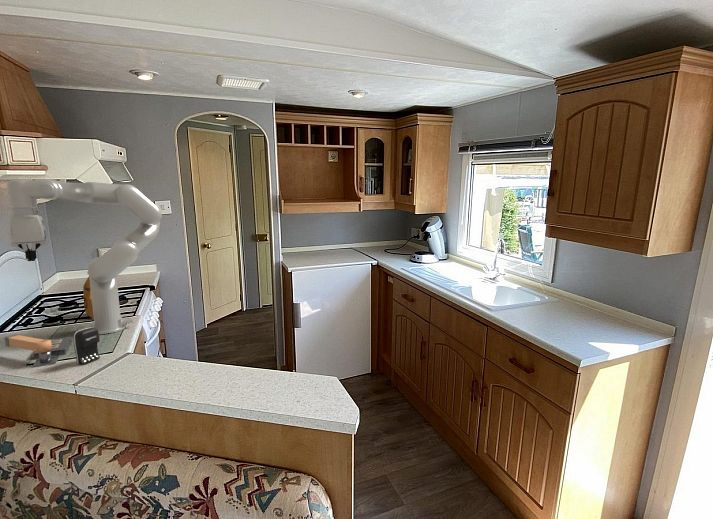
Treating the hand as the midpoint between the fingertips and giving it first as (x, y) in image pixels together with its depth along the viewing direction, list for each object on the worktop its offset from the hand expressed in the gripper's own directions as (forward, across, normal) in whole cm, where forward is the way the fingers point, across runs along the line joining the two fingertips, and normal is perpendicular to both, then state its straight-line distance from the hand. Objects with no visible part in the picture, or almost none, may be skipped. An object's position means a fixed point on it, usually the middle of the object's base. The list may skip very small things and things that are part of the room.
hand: (31, 260), depth 147 cm
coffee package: (+32, -16, -30) cm, 47 cm away
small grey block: (+32, -6, +28) cm, 43 cm away
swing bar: (+28, -1, +22) cm, 36 cm away
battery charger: (+32, -19, +35) cm, 51 cm away
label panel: (+32, -6, +15) cm, 36 cm away
